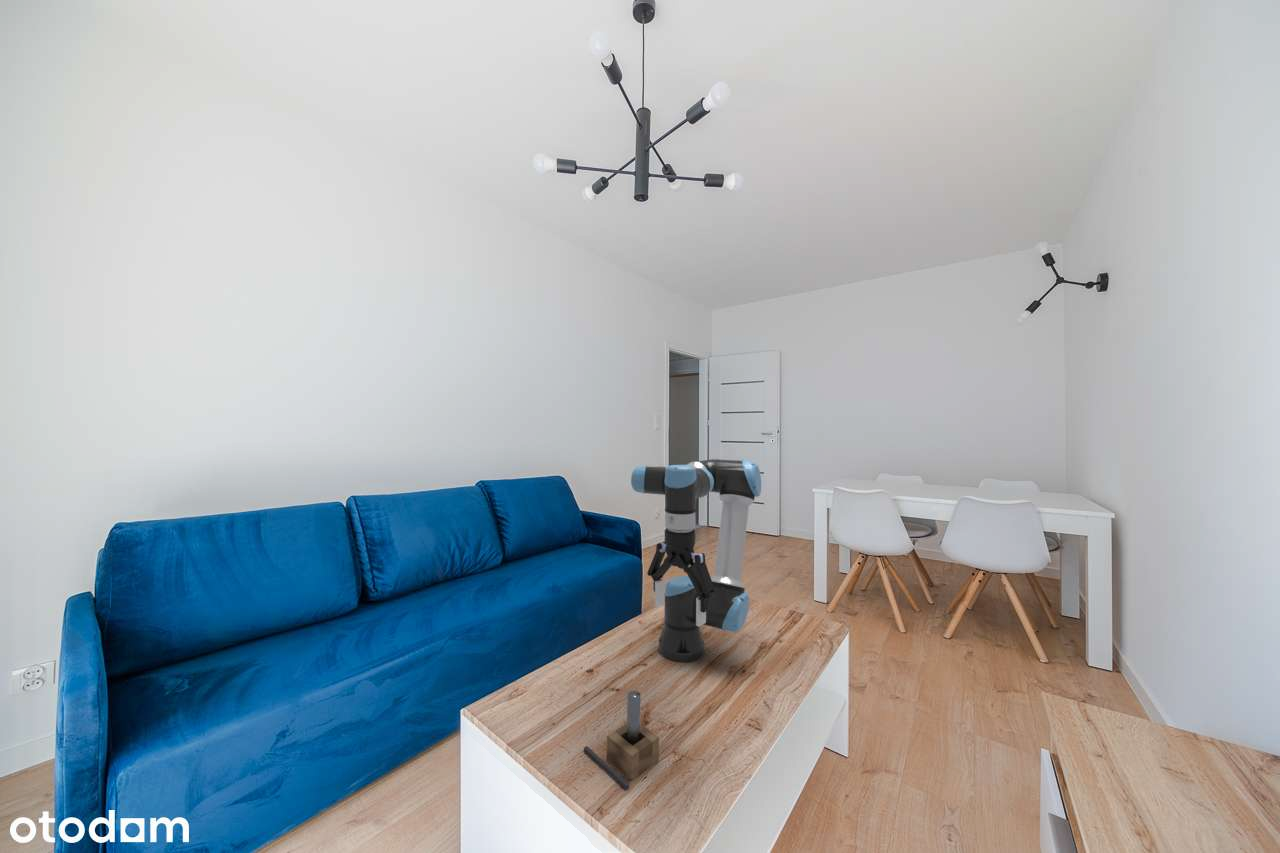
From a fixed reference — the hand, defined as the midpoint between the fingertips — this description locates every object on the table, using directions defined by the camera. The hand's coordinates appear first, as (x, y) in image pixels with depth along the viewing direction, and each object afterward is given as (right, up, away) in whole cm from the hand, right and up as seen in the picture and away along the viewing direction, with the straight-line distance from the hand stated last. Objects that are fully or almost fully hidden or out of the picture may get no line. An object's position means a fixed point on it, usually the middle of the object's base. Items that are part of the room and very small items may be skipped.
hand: (679, 614), depth 106 cm
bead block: (-11, -26, -12) cm, 31 cm away
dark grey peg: (-11, -26, -12) cm, 31 cm away
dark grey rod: (-17, -26, -15) cm, 34 cm away
